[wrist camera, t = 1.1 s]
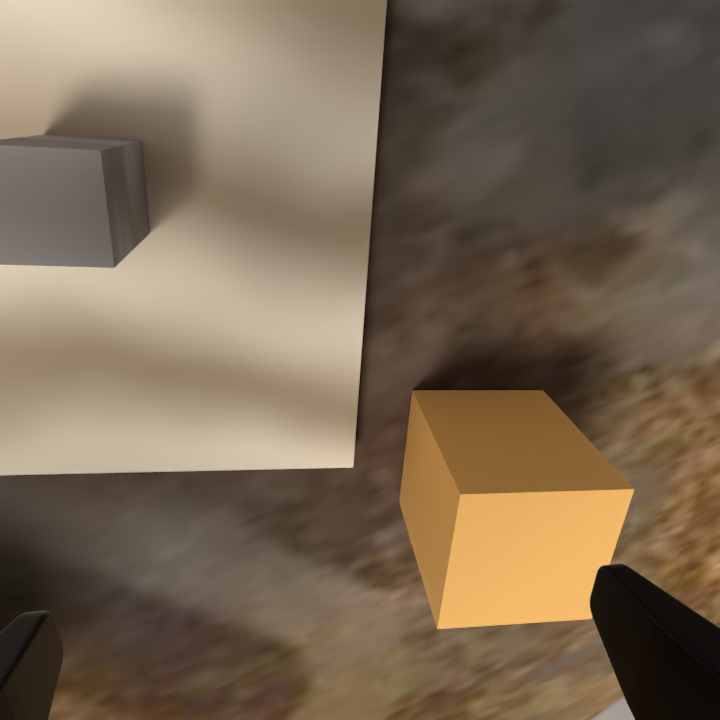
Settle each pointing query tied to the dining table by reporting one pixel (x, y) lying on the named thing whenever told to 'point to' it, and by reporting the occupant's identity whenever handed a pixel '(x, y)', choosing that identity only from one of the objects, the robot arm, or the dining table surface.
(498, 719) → the dining table surface
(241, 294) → the board
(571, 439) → the block
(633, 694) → the robot arm
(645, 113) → the dining table surface
